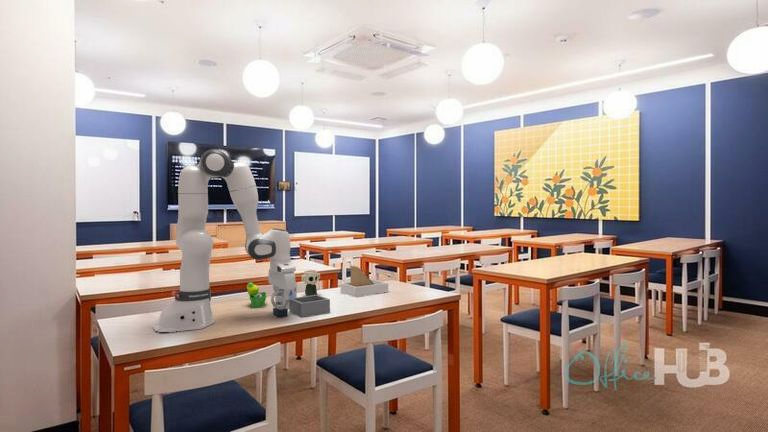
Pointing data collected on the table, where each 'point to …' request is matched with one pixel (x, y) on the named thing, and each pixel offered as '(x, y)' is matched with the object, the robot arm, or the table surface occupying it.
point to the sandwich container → (359, 278)
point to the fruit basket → (256, 295)
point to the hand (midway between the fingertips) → (281, 297)
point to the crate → (309, 305)
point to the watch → (279, 311)
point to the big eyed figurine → (311, 281)
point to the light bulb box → (279, 299)
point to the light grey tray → (364, 288)
